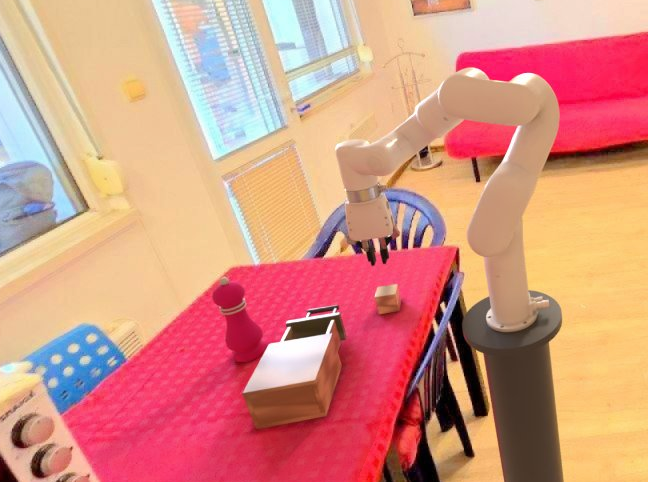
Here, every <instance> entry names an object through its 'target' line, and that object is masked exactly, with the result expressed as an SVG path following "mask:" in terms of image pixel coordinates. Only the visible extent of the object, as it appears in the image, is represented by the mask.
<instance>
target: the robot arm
mask: <svg viewBox="0 0 648 482" xmlns="http://www.w3.org/2000/svg"><path fill="white" fill-rule="evenodd" d="M560 114H561V113H560V105H559V101H558V98H557V96H556V93H555V92H554V90H553V88H552V87H551V85H550V84H549V83H548V82H547V80H546V79H544V78H543V77H541V75H539V74H535V73H531V72H526V73H521V74H518V75H516V76H514V77H513V78H512V79H511V80H509V81H504V80H493V79H490V78H489V76H488V75H487V74H486V73H485V72H484V71H482V70H481V69H479V68H476V67H465V68H462V69H460V70H458V71H455V72H454V73H452V74H449V76H447V77H446V78H444V80H443V81H442V82H441V83H440V86H438V88H437V89H435V90H434V91H433V92H431V93H430V94H429V95H427V97H425V98H424V99H423V100H421V101H420V102H419V103H417V104H416V106H415V108H414V112H413V113H412V115H410V116H409V117H408V118H407V119H406V120H404V122H402V123H401V124H399V125H398V126H397V127H396V128H395V129H393V130H392V131H390V132H389V133H388V134H386V135H384V136H382V137H381V138H379V139H377V140H376V141H374V142H371V143H369V141H367V140H366V139H362V138H356V139H355V138H354V139H348V140H344V141H341V142H340V143H338V144H337V145H336V146H335V149H334V152H335V156H336V161H337V165H338V169H339V172H340V176H341V181H342V185H343V189H344V193H345V197H346V199H345V201H344V212H345V213H344V214H345V221H346V229H347V233H348V234H347V239H346V243H347V244H348V245H353V246H357V247H358V248H360V249H362V250H363V252H365V254H366V258H367V262H368V263H370V265H371V267H374V266H375V265H376V262H377V256H376V252H375V248H374V246H373V245H372V244H371V241H370V240H374V239H379V245H380V249H379V253H380V258H381V262H382V265H386V264H387V262H388V260H389V259H390V253H389V248H388V246H389V244H390V243H391V242H392V241H393V240H395V239H397V238H399V237H400V236H401V231H400V230H399V229H398V227H397V226H396V224H395V223H396V222H395V219H394V215H393V212H392V209H391V205H390V203H389V200H388V198H387V196H386V193H385V192H387V186H386V184H381V183H380V181H379V178H378V177H387V176H389V175H391V174H393V173H395V171H397V170H398V169H400V167H402V166H403V165H404V164H406V163H407V162H408V161H409V160H411V159H412V158H413V157H414V156H415V155H417V154H418V153H419V152H421V151H422V150H423V149H425V148H426V147H427V146H428V145H430V144H432V143H433V142H434V141H435V140H438V139H441V138H443V137H444V136H446V135H447V134H448V133H449V132H451V131H452V130H453V129H455V128H456V127H457V126H458V125H460V124H461V123H462V122H464V121H465V120H466V121H471V122H478V123H484V124H491V125H498V126H499V125H500V126H507V127H516V129H515V132H514V133H513V135H512V138H511V140H510V143H509V146H508V148H507V150H506V153H505V155H504V157H503V159H502V160H501V163H500V164H499V165H498V166H497V168H496V169H495V170H494V172H493V173H492V174H491V175H490V177H489V178H488V180H487V182H486V183H485V185H484V187H483V189H482V191H481V194H480V196H479V198H478V202H477V204H476V206H475V209H474V211H473V213H472V214H471V218H470V220H469V222H468V225H467V229H466V240H467V244H468V246H469V247H470V249H471V250H472V251H473V252H474V253H475V254H476V255H478V256H480V257H483V263H484V271H485V278H486V282H487V289H488V297H490V304H491V309H490V310H489V311H488V312H487V315H486V321H487V324H488V325H489V327H491V328H492V329H494V330H496V331H500V332H515V331H519V330H522V329H525V328H527V327H529V326H530V325H531V324H533V323H534V321H535V320H536V319H537V309H545V308H550V306H549V300H544V301H543V298H542V297H537V298H533V297H530V293H529V290H530V289H529V282H528V274H527V267H526V257H525V256H526V255H525V247H524V220H523V216H524V214H525V212H526V209H527V207H528V205H529V204H530V202H531V199H532V197H533V195H534V194H535V191H536V187H537V184H538V181H539V178H540V176H541V173H542V171H543V169H544V168H545V164H546V162H547V160H548V157H549V155H550V152H551V149H552V148H553V145H554V143H555V141H556V138H557V135H558V131H559V127H560V118H561V117H560Z"/></svg>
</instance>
